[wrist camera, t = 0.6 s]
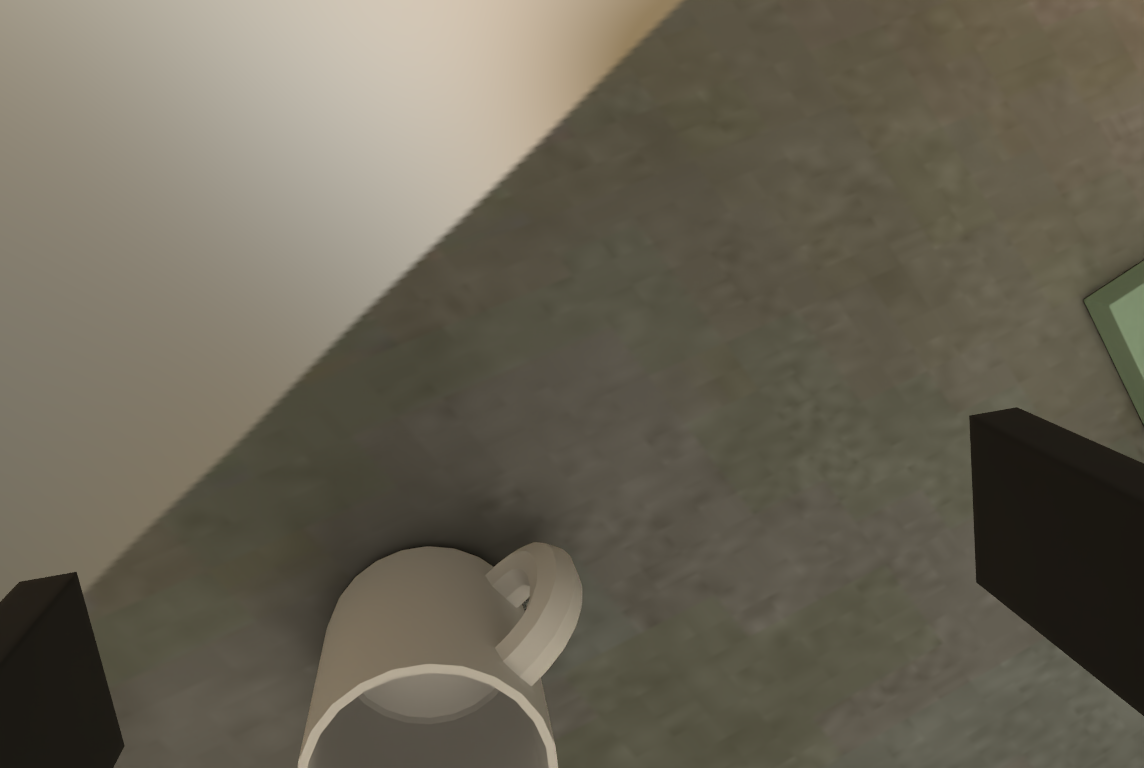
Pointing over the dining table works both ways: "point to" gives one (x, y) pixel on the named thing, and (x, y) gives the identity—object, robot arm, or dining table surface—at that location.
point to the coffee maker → (1123, 328)
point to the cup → (443, 662)
